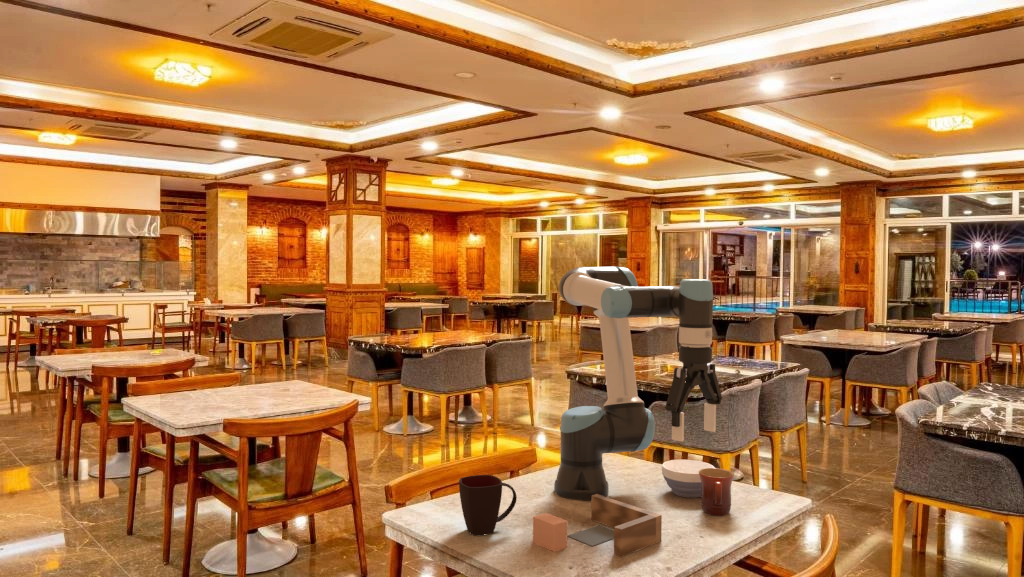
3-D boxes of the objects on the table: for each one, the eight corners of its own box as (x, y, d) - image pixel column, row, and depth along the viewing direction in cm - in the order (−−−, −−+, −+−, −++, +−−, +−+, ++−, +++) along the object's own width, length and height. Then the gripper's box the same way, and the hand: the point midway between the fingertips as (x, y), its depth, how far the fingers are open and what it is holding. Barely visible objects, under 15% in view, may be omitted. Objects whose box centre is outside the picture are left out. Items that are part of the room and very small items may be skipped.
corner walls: (556, 531, 169) (556, 506, 169) (596, 517, 178) (597, 494, 178) (620, 556, 154) (621, 529, 153) (661, 541, 163) (661, 515, 162)
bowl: (706, 505, 188) (706, 476, 187) (654, 495, 195) (654, 468, 195) (721, 490, 200) (721, 464, 200) (671, 482, 208) (672, 456, 207)
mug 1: (455, 526, 172) (454, 477, 171) (509, 519, 176) (509, 471, 176) (465, 541, 162) (465, 489, 162) (522, 533, 167) (522, 483, 167)
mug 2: (697, 505, 187) (697, 467, 187) (731, 508, 185) (732, 469, 185) (700, 521, 175) (700, 480, 175) (736, 524, 174) (737, 482, 173)
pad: (567, 536, 165) (567, 535, 165) (599, 525, 173) (599, 524, 173) (592, 546, 159) (592, 545, 159) (624, 534, 166) (624, 533, 166)
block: (532, 542, 162) (533, 516, 162) (545, 538, 164) (545, 512, 164) (554, 552, 156) (554, 525, 156) (567, 547, 159) (567, 520, 159)
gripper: (678, 351, 154) (677, 447, 155) (737, 342, 171) (736, 429, 172) (650, 348, 160) (649, 441, 160) (709, 340, 177) (708, 424, 177)
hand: (694, 435), depth 166 cm, fingers open, 13 cm apart
